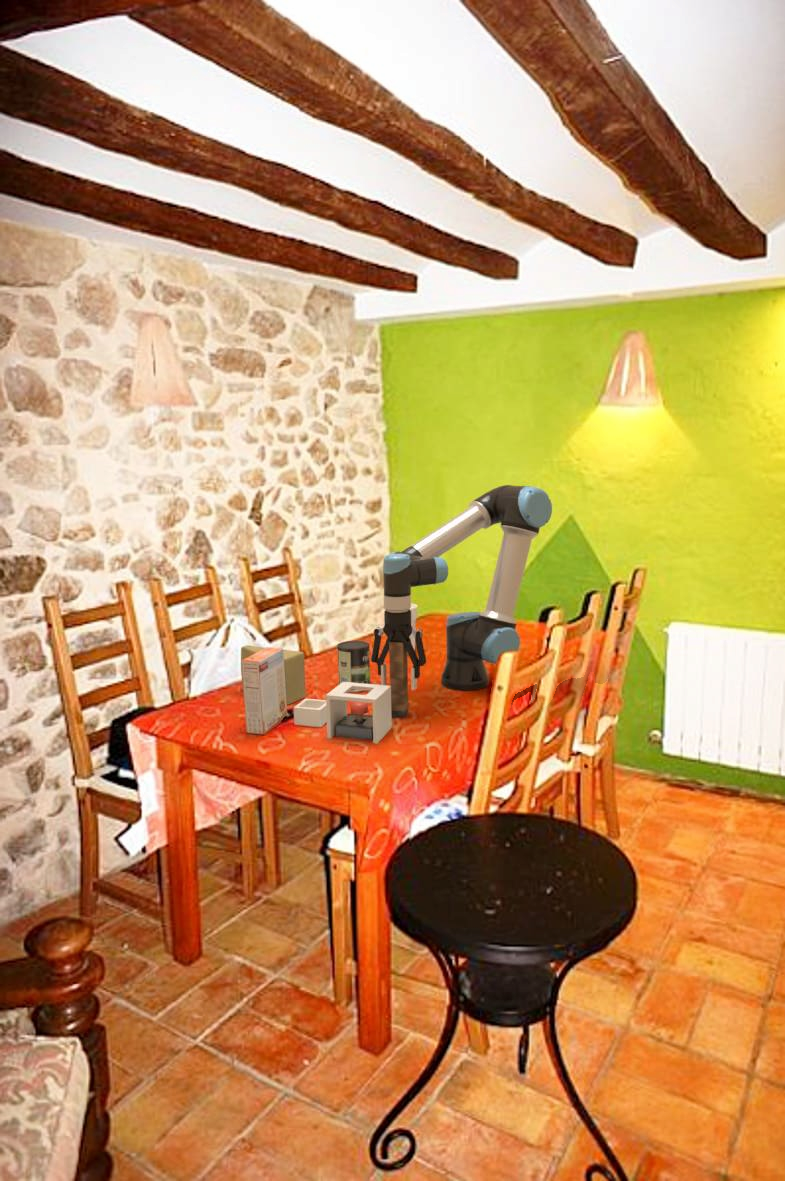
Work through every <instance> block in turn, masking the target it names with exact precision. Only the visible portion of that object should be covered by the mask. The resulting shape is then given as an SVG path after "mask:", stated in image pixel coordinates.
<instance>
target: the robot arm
mask: <svg viewBox="0 0 785 1181" xmlns="http://www.w3.org/2000/svg"><path fill="white" fill-rule="evenodd" d="M552 513H553V504H552V500H551V499H550V497H549V495H548V493H547V492H546V491H545V490H543V489H542V488H539V487H535V486H530V485H526V486H525V485H511V484H506V485H505V484H504V485H501V486H498V487H495V488H492V489H491V490H489V491H487V492H485V493H483V494H481V495H480V496H478V497H477V498H476V499H474V500H472V501H471V502H470V503H469V505H468V508H466V509H465V510H463V511H462V512H460V513H459V514H457V515H455V516H453V517H452V518H451V519H450V520H448V521H446V522H445V523H443V524H442V525H440V526H439V527H437V528H436V529H434V530H433V531H431V532H430V533H428V534H426V535H425V536H423V538H421V539H418V541H416V542H414V543H413V544H412V545H410V546H408V547H406V548H405V549H404V550H402V551H393V552H390V553H389V554H387V555H385V556H384V557H383V566H382V567H383V568H382V574H383V578H382V579H383V609H384V611H383V612H384V613H383V614H384V620H383V621H384V626H383V627H379V626H378V627H376V628H374V629H373V633H374V641H373V646H372V652H371V659H370V661H371V662H372V663H375V664H376V665H377V674H378V676H380V683H381V684H380V685H387V686H388V676H387V675H388V670H387V669H388V668H387V663H386V662H385V659H386V657H387V655H388V653H389V642H391V641H393V642H402V643H403V645H404V646H405V648H406V650H407V652H408V655H407V656H409V658H410V659H409V660H410V661H411V663H412V667H411V668H410V669H411V670H410V671H411V672H410V674H411V675H410V676H411V681H410V682H411V687H410V689H411V691H416V689H417V688H418V685H417V684H418V679H419V678H420V676H421V674H420V673H421V672H420V671H421V667H424V665H426V664H427V658H426V653H425V649H424V644H423V630H422V629H415V630H414V629H413V628H412V626H411V611H410V610H409V609H410V608H411V604H412V593H411V592H412V588H413V587H414V588H415V587H422V586H428V585H437V584H441V583H444V582H446V580H447V579H448V576H449V566H448V563H447V561H446V560H445V559H444V558H443V557H441V556H443V555H444V554H445V553H447V552H448V551H450V550H451V549H452V548H453V549H454V547H456V546H457V545H458V544H460V543H462V542H463V541H465V540H466V539H468V538H469V537H471V536H472V535H474V534H476V533H477V532H479V531H480V530H481V529H485V530H486V529H489V528H490V527H492V526H493V525H496V524H500V528H501V530H502V532H503V534H502V541H501V544H500V548H499V552H498V557H497V560H496V565H495V570H494V572H493V578H492V582H491V585H490V588H489V594H488V597H487V601H486V602H487V603H486V607H485V609H484V610H483V611H482V612H479V611H466V612H457V613H452V614H449V615H448V616H447V618H446V622H445V624H446V625H445V629H446V635H445V637H446V661H445V664H444V668H443V671H442V673H441V678H440V679H441V685H442V686H443V687H445V688H447V689H452V690H457V691H473V690H480V689H485V688H486V687H487V686H488V685H490V684H489V683H490V682H489V679H490V677H489V674H488V671H487V667H486V664H485V662H486V663H489V664H495V665H497V664H496V662H497V659H498V657H499V655H500V654H501V653H502V652H504V651H510V650H515V651H517V652H519V649H520V645H521V638H520V637H519V633H518V632H517V630H516V628H517V623H518V622H517V620H516V619H515V618H514V614H515V610H516V607H517V606H516V605H517V602H518V598H519V595H520V589H521V585H522V581H523V578H524V574H525V570H526V565H527V561H528V556H529V553H530V550H531V549H530V548H531V545H532V540H533V539H534V538H536V537H537V536H538V535H539V533H540V529H541V528H542V527H544V526H545V525H546V524H547V523H549V522H550V520H551V517H552ZM384 634H385V636H386V637H387V638H386V639H385V642H384V643H385V644H384V646H383V648H382V650H381V653H380V649H381V648H380V647H381V642H382V635H384ZM411 634H413V636H414V638H415V648H416V649H415V650H414V648H413V646H412V644H411V640H410V638H409V636H410V635H411ZM416 651H417V652H416ZM379 654H380V655H379Z"/></svg>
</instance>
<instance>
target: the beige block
mask: <svg viewBox="0 0 785 1181" xmlns="http://www.w3.org/2000/svg"><path fill="white" fill-rule="evenodd" d="M264 648H265V647H262V646H255V645H247V644H246V645H244V646H242V647H241V648H240V672H241V673H240V674H241V690H242V691H243V692H244V689H243V676H242V663H241V661H242V660H244V659H245V658H247V657H249V656H251V655H253V654H255V653H257V652H258V651H260V650H262V649H264ZM283 655H284V671H285V688H286V704H287V706H288V705H291V704H294V703H296V702H298V701H300V700H304V699H305V698H306V697H307V694H306V693H307V691H306V690H307V689H306V668H305V653H304V652H303V651H298V650H297V651H296V650H290V649H283Z"/></svg>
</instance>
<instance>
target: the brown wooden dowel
mask: <svg viewBox="0 0 785 1181" xmlns="http://www.w3.org/2000/svg"><path fill="white" fill-rule="evenodd" d="M388 653H389V656H388V657H389V686H391V716H392V718H397V719H405V718H406V717H407V716H408V715H409V679H408V678H409V672H408V669H409V668H408V666H409V665H408V663H409V662H408V655H407V650H406V648H405V646H404V645H403V643H402V642H393V641H391V642H389V651H388Z"/></svg>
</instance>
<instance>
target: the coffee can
mask: <svg viewBox="0 0 785 1181" xmlns="http://www.w3.org/2000/svg"><path fill="white" fill-rule="evenodd" d="M336 648H337V665H338V666H337V669H338V670H337V672H338V673H337V674H338V685H339V684H341V683H342V682H352V683H364V684H371V670H370V669H371V668H370V666H371V664H370V663H371V662H370V661H371V659H370V643H369V642H367V641H363V640H348V641H342V642H339V643H338V644H337V645H336ZM365 691H366V690H354V689H352V690H351V691H349V692H348V693H358V692H365Z"/></svg>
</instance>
